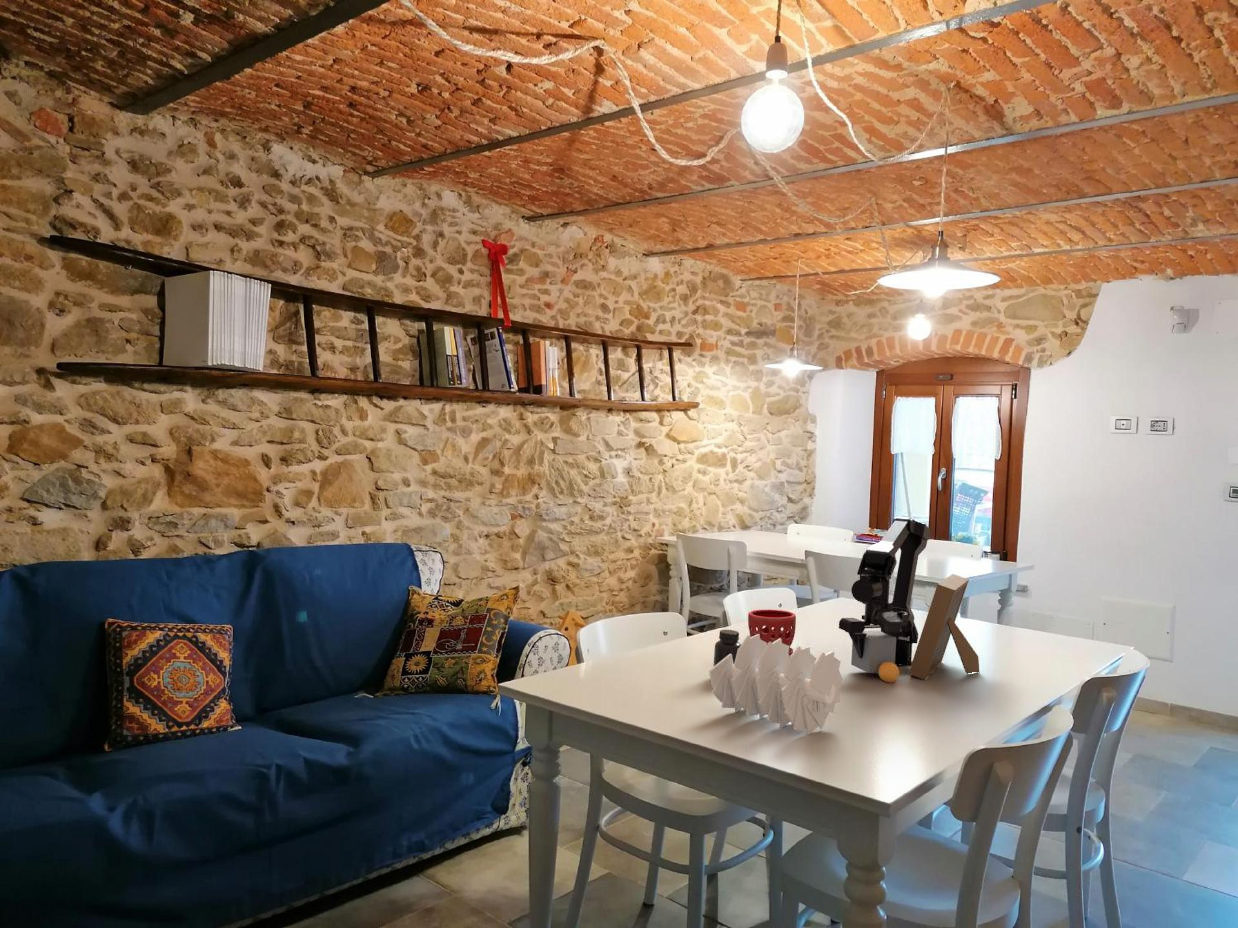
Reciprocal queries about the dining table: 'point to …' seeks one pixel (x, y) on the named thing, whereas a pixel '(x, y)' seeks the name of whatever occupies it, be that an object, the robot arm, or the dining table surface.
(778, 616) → the plant pot
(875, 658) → the grey block
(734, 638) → the supplement bottle
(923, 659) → the photo frame
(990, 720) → the dining table surface
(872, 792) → the dining table surface
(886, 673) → the ball
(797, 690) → the spiral staircase
